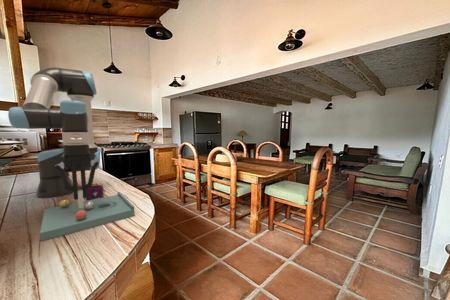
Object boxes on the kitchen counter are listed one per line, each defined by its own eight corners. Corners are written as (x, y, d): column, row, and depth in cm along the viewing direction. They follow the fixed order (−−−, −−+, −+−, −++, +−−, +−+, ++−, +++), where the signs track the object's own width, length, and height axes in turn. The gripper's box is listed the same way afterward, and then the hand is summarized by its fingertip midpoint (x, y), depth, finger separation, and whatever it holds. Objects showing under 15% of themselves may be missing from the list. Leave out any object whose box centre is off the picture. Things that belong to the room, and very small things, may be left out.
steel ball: (92, 208, 76) (82, 208, 74) (93, 200, 76) (83, 200, 74) (93, 210, 73) (83, 211, 71) (94, 201, 73) (84, 202, 71)
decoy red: (75, 219, 65) (74, 210, 65) (86, 216, 67) (86, 207, 67) (75, 222, 63) (74, 213, 63) (87, 219, 65) (87, 210, 65)
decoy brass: (59, 207, 76) (58, 199, 76) (70, 205, 78) (69, 197, 78) (59, 209, 73) (58, 201, 73) (70, 207, 76) (69, 199, 75)
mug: (86, 205, 85) (85, 190, 84) (86, 198, 93) (84, 185, 92) (104, 201, 89) (103, 187, 88) (102, 196, 97) (101, 182, 96)
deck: (45, 215, 75) (44, 205, 74) (119, 199, 92) (119, 191, 91) (40, 241, 57) (39, 229, 56) (134, 215, 73) (134, 206, 73)
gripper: (52, 145, 63) (58, 215, 65) (98, 143, 71) (103, 205, 73) (52, 144, 69) (58, 208, 71) (96, 143, 77) (100, 200, 79)
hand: (81, 207), depth 72 cm, fingers closed
